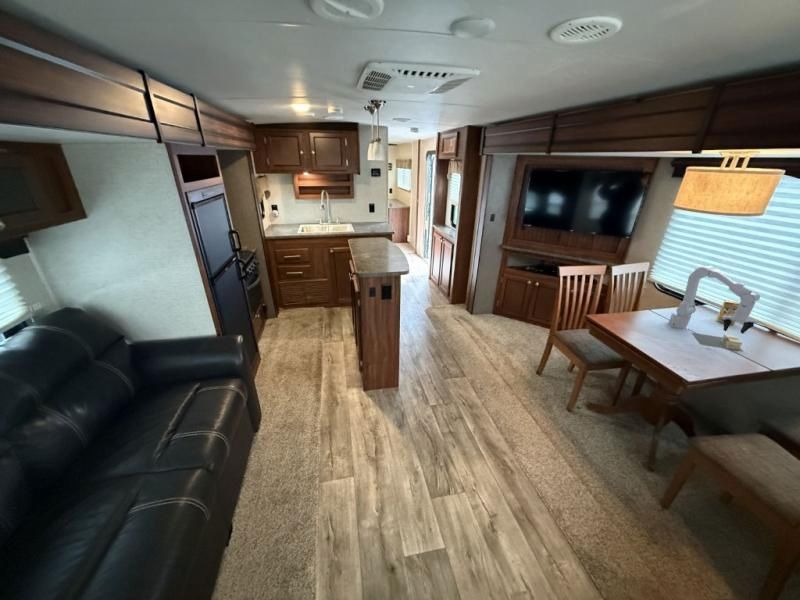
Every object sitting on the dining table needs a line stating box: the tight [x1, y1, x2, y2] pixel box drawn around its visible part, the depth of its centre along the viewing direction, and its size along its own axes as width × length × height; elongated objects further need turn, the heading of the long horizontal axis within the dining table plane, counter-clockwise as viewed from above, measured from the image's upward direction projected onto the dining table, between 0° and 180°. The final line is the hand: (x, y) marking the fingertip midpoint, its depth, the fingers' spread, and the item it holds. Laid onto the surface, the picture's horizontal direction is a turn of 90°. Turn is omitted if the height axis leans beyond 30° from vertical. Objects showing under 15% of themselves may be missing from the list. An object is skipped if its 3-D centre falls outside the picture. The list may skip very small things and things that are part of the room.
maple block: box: [722, 333, 743, 349], centre depth 187 cm, size 9×5×4 cm, turn 154°
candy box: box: [715, 299, 740, 326], centre depth 212 cm, size 9×4×15 cm, turn 49°
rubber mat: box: [691, 332, 745, 353], centre depth 191 cm, size 20×16×1 cm
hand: (733, 331), depth 185 cm, fingers open, 7 cm apart
